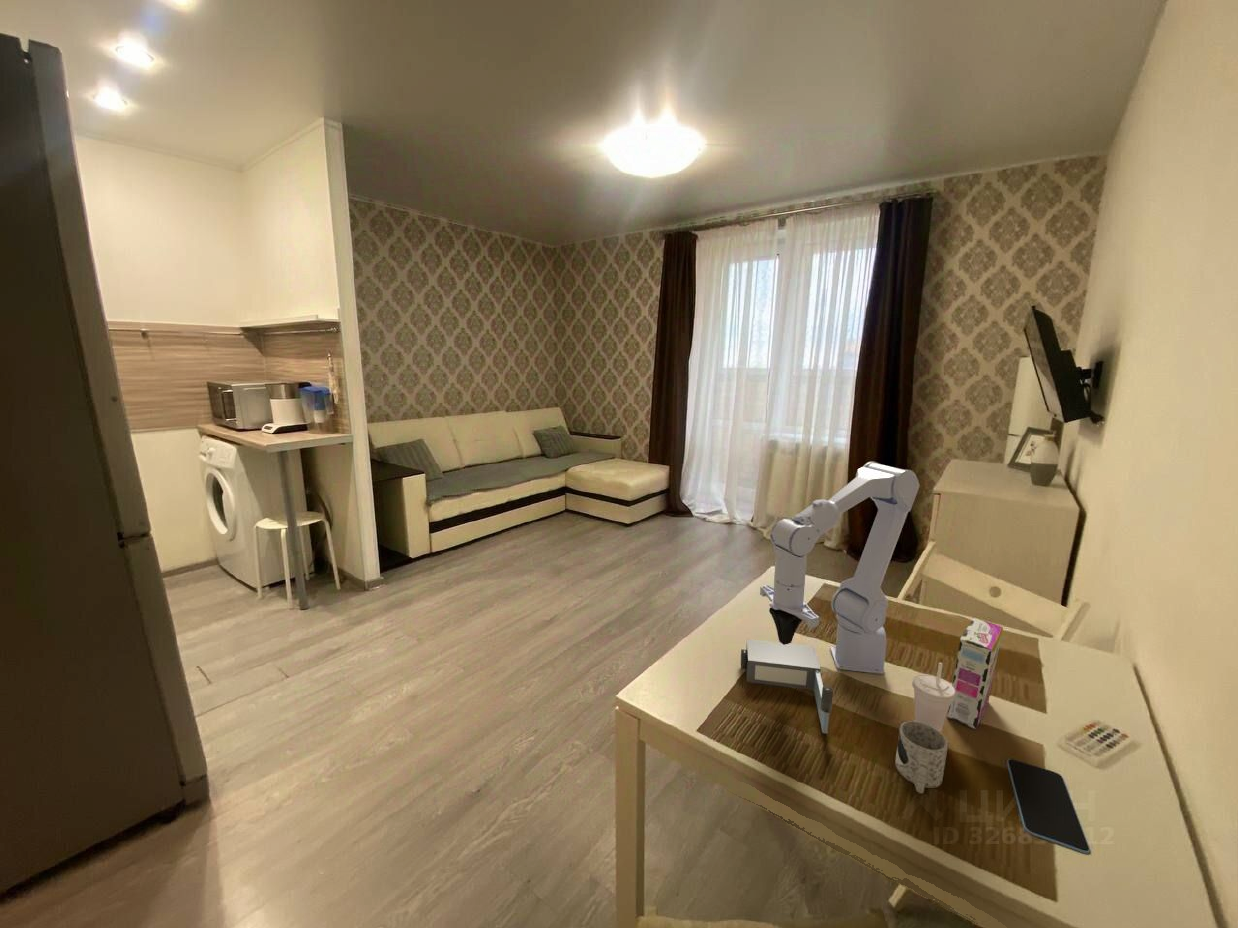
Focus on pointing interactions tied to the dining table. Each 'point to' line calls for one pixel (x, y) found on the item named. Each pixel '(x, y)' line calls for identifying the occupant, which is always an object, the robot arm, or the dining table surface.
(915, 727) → the mug
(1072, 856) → the dining table surface
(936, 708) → the smoothie
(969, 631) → the candy bar box
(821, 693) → the side door
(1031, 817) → the smartphone
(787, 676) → the camera housing
